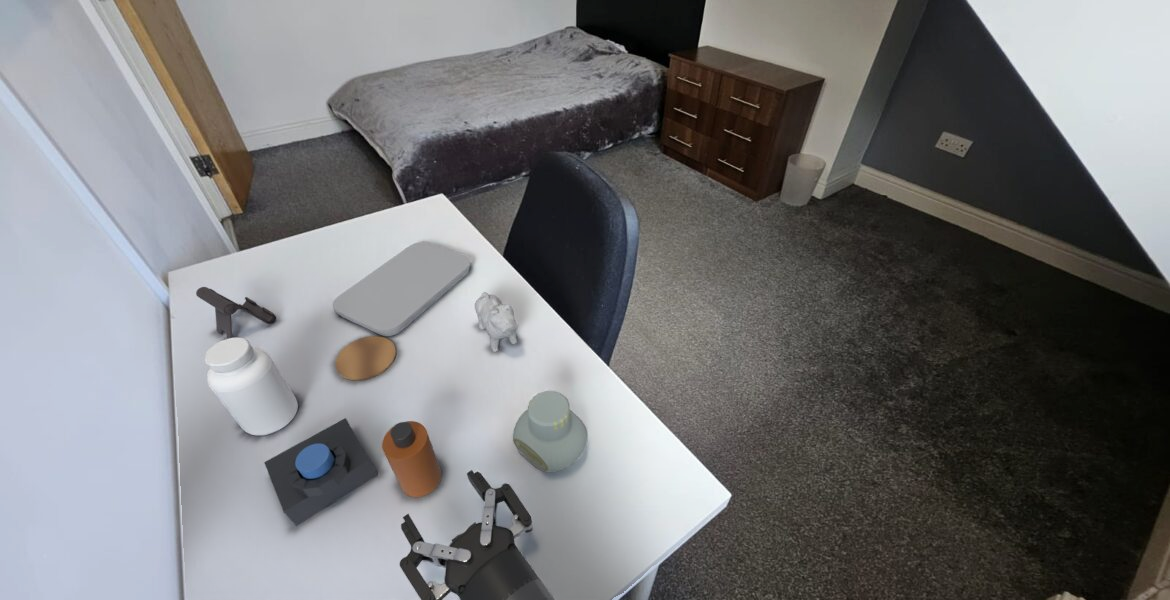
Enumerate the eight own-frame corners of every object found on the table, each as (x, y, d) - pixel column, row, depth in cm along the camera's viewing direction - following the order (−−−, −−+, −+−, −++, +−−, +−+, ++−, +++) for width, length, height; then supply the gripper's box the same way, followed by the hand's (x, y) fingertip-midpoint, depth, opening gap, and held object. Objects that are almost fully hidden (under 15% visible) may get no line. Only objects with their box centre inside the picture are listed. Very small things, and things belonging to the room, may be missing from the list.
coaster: (349, 390, 78) (348, 388, 78) (327, 355, 83) (326, 354, 83) (405, 360, 83) (405, 358, 83) (382, 330, 88) (381, 328, 88)
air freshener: (505, 444, 71) (499, 404, 64) (543, 409, 76) (540, 368, 69) (559, 489, 66) (558, 450, 59) (596, 448, 71) (598, 409, 64)
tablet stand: (279, 320, 90) (259, 287, 84) (238, 346, 85) (214, 312, 79) (251, 304, 93) (231, 271, 88) (211, 328, 88) (186, 294, 82)
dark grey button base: (298, 531, 61) (279, 510, 57) (276, 476, 66) (257, 454, 62) (380, 479, 66) (368, 457, 62) (353, 432, 72) (341, 409, 68)
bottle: (411, 505, 64) (389, 459, 56) (394, 476, 67) (370, 428, 59) (448, 480, 66) (432, 432, 59) (430, 453, 70) (411, 404, 62)
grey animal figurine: (501, 367, 82) (495, 323, 75) (474, 323, 90) (466, 280, 83) (528, 355, 85) (525, 312, 77) (499, 313, 93) (493, 270, 85)
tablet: (328, 314, 91) (324, 305, 90) (421, 247, 109) (419, 238, 107) (391, 343, 86) (387, 334, 85) (478, 267, 103) (476, 259, 102)
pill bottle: (304, 420, 73) (262, 356, 63) (245, 446, 70) (192, 382, 60) (295, 387, 78) (255, 322, 68) (239, 409, 75) (189, 344, 65)
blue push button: (307, 485, 60) (300, 477, 58) (297, 463, 62) (290, 455, 61) (338, 466, 62) (333, 458, 60) (328, 446, 64) (322, 437, 63)
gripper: (567, 549, 50) (485, 445, 59) (446, 656, 43) (374, 520, 52) (567, 574, 55) (491, 475, 64) (459, 674, 48) (391, 547, 57)
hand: (439, 495), depth 58 cm, fingers open, 8 cm apart
